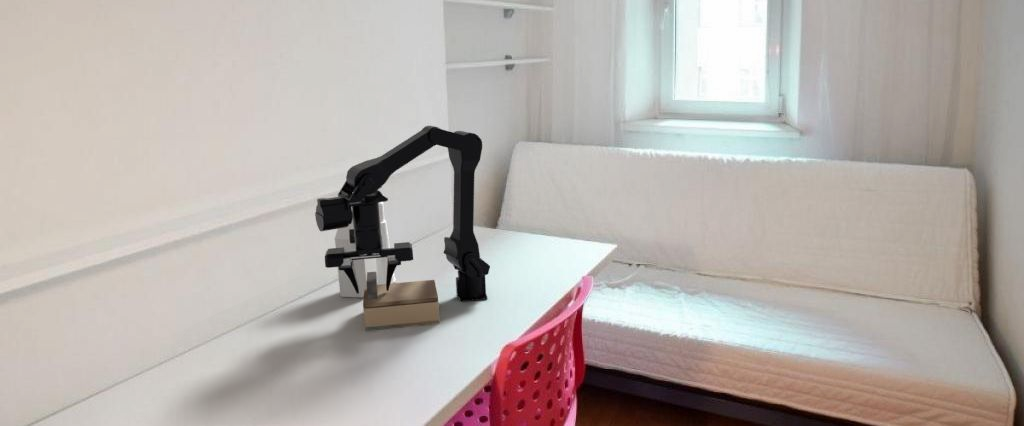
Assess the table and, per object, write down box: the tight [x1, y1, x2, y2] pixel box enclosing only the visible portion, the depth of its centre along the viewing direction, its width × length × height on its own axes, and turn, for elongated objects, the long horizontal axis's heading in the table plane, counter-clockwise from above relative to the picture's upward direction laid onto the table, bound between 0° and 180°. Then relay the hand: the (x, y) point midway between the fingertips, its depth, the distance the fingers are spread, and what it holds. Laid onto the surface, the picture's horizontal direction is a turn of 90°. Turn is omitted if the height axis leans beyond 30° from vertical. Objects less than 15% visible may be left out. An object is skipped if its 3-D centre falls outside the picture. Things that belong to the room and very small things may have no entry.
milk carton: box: [334, 220, 378, 299], centre depth 176 cm, size 7×7×19 cm
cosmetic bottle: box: [376, 202, 397, 285], centre depth 184 cm, size 6×6×22 cm
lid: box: [362, 272, 439, 308], centre depth 160 cm, size 16×12×5 cm
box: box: [362, 300, 441, 332], centre depth 161 cm, size 16×12×5 cm
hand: (372, 291), depth 160 cm, fingers open, 6 cm apart
